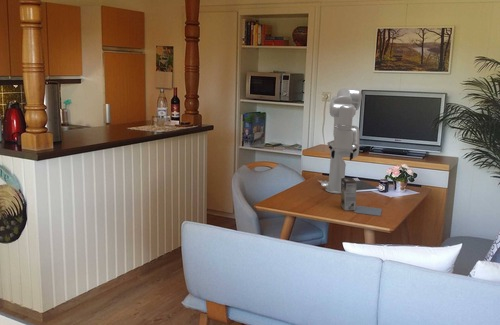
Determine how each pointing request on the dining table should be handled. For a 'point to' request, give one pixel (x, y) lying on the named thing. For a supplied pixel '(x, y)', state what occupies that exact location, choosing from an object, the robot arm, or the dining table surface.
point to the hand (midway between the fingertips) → (341, 159)
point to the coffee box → (348, 193)
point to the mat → (368, 210)
